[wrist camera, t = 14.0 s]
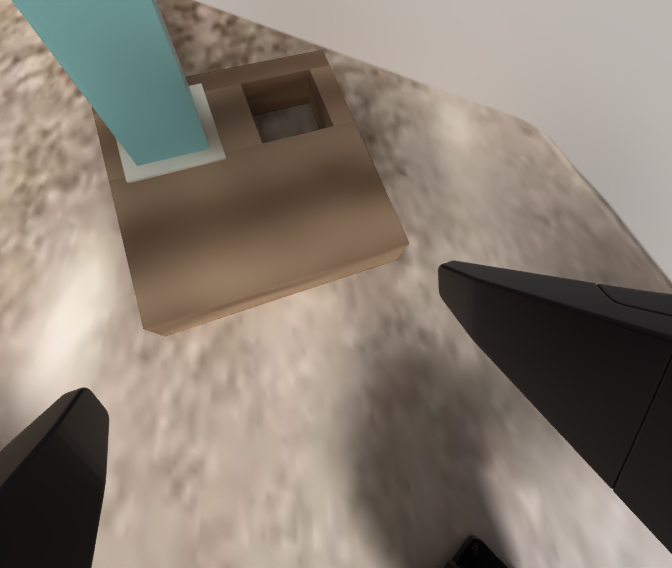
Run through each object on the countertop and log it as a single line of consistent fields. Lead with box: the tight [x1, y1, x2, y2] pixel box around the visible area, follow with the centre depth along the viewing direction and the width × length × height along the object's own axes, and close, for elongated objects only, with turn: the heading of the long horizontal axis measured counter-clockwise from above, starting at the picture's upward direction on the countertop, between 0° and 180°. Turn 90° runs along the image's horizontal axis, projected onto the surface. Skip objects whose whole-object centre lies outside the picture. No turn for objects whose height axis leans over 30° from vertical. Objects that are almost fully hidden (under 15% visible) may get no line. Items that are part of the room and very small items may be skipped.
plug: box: [12, 0, 210, 166], centre depth 16 cm, size 4×4×12 cm
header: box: [92, 50, 409, 336], centre depth 23 cm, size 16×16×3 cm
